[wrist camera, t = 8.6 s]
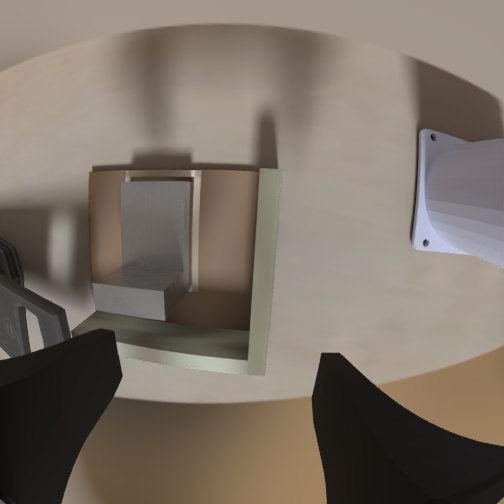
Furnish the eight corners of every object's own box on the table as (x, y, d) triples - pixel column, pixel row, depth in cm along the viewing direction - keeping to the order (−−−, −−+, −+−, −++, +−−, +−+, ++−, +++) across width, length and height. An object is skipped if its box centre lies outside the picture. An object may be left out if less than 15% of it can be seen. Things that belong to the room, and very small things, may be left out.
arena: (278, 173, 17) (281, 169, 13) (265, 342, 19) (264, 375, 15) (92, 172, 17) (57, 171, 13) (100, 320, 20) (74, 344, 16)
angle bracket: (190, 287, 18) (165, 320, 13) (133, 281, 18) (95, 310, 13) (192, 181, 17) (163, 179, 12) (132, 182, 17) (88, 181, 12)
